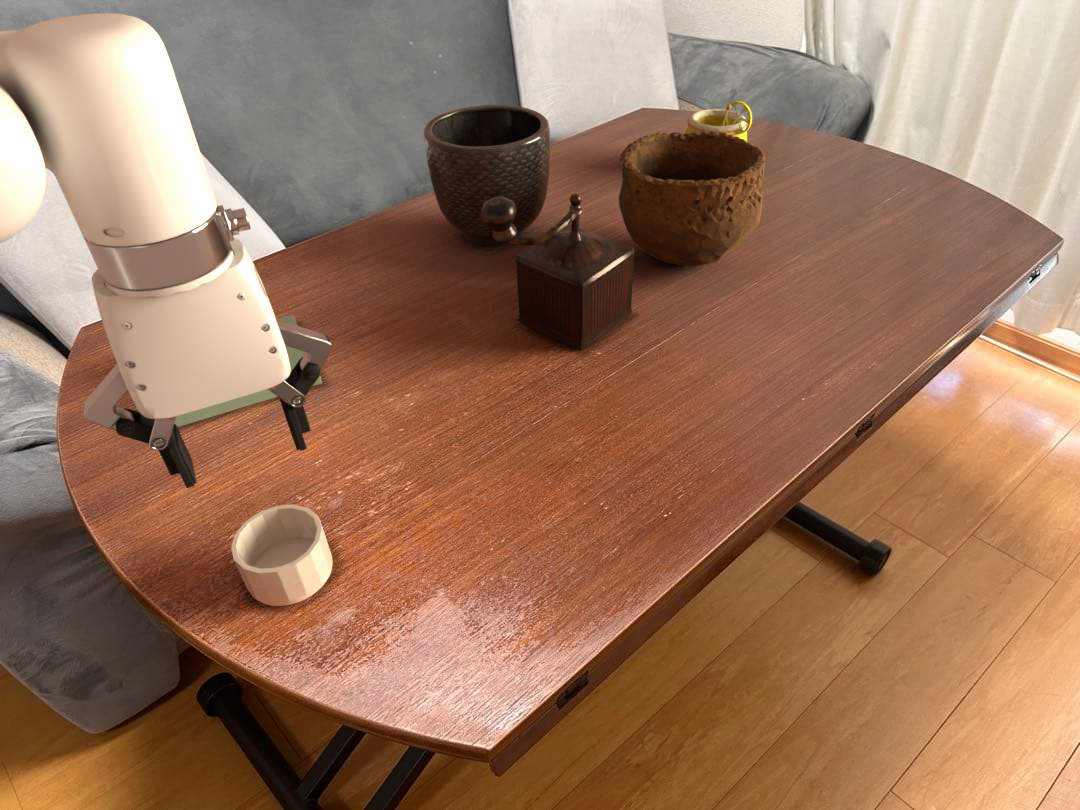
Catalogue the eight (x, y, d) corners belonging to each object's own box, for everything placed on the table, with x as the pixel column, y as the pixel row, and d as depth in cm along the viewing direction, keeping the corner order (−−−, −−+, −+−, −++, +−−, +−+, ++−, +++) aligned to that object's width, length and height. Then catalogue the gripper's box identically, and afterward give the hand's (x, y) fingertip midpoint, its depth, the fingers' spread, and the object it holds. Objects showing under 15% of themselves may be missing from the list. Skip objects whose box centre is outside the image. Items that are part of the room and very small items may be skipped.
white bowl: (255, 619, 62) (239, 585, 59) (240, 556, 67) (225, 523, 64) (342, 585, 64) (331, 551, 62) (321, 527, 70) (310, 493, 67)
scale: (174, 428, 81) (164, 407, 79) (161, 360, 91) (152, 339, 89) (322, 383, 86) (316, 362, 84) (295, 323, 96) (289, 303, 94)
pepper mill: (565, 286, 101) (563, 153, 89) (633, 314, 95) (641, 176, 83) (484, 339, 92) (470, 200, 80) (554, 373, 86) (550, 229, 74)
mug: (673, 154, 133) (679, 84, 126) (735, 151, 134) (744, 80, 126) (689, 184, 124) (696, 110, 116) (755, 180, 124) (767, 106, 116)
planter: (531, 267, 105) (526, 154, 94) (418, 252, 109) (401, 143, 99) (565, 213, 117) (564, 108, 107) (463, 202, 122) (452, 100, 111)
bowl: (588, 254, 107) (589, 150, 97) (680, 214, 116) (689, 115, 106) (686, 308, 95) (698, 196, 86) (780, 259, 104) (801, 153, 95)
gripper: (293, 191, 51) (345, 394, 62) (3, 254, 45) (118, 464, 57) (319, 237, 46) (371, 449, 57) (-4, 314, 40) (124, 532, 52)
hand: (245, 455), depth 57 cm, fingers open, 7 cm apart
